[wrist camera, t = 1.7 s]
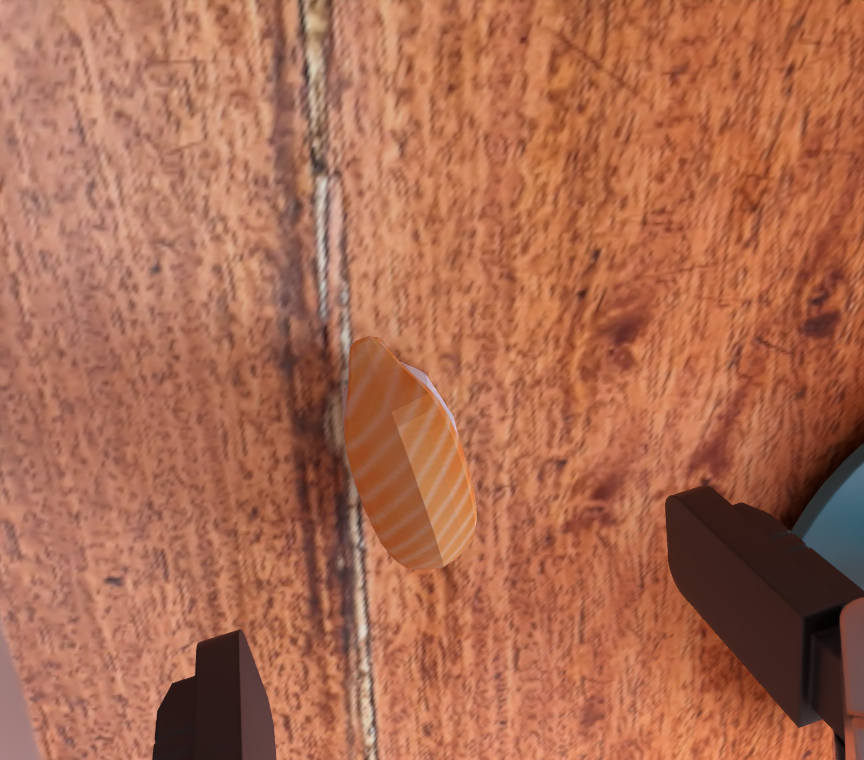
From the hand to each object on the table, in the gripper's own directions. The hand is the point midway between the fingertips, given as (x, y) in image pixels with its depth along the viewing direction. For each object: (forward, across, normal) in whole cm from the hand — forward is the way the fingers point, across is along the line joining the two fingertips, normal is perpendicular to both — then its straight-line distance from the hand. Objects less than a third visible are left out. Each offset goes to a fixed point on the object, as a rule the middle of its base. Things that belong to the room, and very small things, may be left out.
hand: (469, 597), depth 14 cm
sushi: (+6, 0, 0) cm, 7 cm away
